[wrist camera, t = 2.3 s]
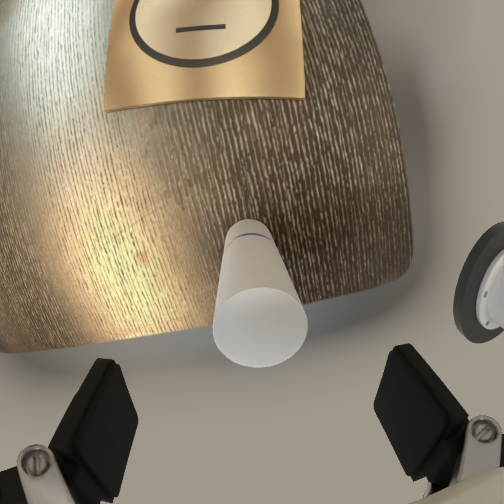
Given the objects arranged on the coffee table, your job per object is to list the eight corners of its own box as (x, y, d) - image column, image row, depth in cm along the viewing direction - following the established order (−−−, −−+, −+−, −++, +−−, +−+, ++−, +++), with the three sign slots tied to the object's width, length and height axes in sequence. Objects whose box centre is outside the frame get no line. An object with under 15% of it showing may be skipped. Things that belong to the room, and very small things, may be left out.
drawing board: (291, -52, 18) (294, -59, 16) (303, 100, 24) (306, 97, 22) (127, -40, 17) (123, -46, 16) (107, 112, 23) (101, 110, 21)
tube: (246, 273, 28) (255, 380, 14) (215, 240, 27) (192, 327, 13) (281, 243, 27) (325, 331, 13) (250, 209, 26) (266, 267, 12)
